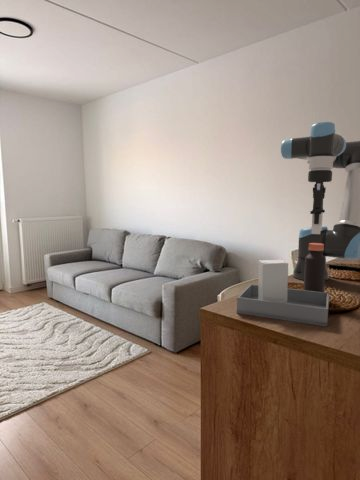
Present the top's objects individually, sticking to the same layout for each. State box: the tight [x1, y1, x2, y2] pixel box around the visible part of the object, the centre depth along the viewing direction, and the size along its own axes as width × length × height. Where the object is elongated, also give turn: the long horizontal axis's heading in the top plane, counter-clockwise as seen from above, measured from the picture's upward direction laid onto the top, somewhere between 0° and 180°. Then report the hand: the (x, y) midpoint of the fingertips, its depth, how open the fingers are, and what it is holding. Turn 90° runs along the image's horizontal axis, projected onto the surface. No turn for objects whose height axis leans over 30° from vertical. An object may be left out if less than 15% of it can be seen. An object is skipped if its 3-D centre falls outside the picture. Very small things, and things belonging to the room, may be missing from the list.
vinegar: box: [303, 243, 327, 292], centre depth 118 cm, size 7×7×20 cm
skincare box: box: [257, 258, 289, 303], centre depth 108 cm, size 8×6×15 cm
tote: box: [236, 283, 330, 327], centre depth 107 cm, size 18×26×5 cm
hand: (316, 232), depth 116 cm, fingers open, 13 cm apart
